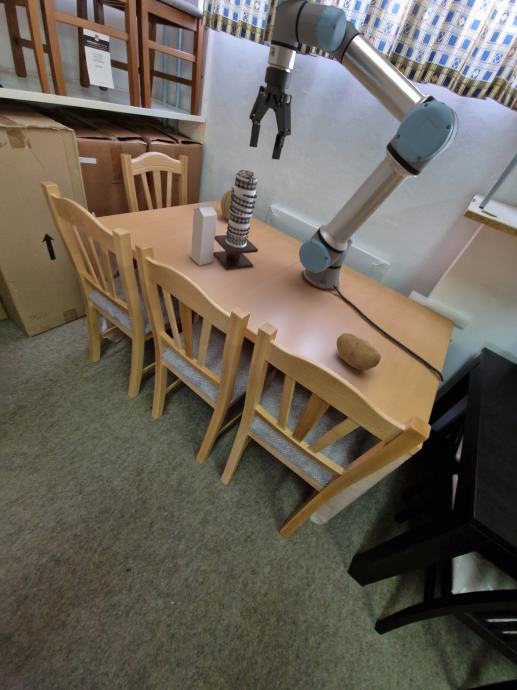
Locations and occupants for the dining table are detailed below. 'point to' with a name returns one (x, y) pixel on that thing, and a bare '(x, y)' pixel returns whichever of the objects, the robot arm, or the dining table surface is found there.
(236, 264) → the stand
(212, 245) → the milk
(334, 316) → the dining table surface
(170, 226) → the dining table surface
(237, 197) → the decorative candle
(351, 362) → the potato
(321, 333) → the dining table surface
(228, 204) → the cantaloupe
